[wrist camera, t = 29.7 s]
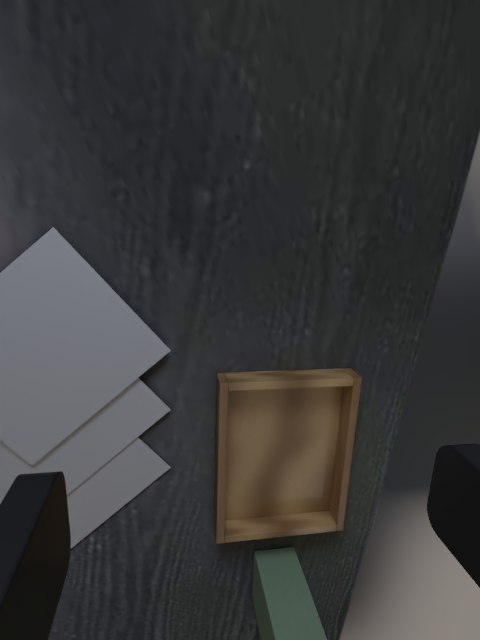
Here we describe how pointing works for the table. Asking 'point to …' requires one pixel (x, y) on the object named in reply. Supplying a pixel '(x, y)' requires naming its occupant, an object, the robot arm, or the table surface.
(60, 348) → the paper stack
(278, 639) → the green lidded canister
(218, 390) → the desk tray
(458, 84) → the table surface
